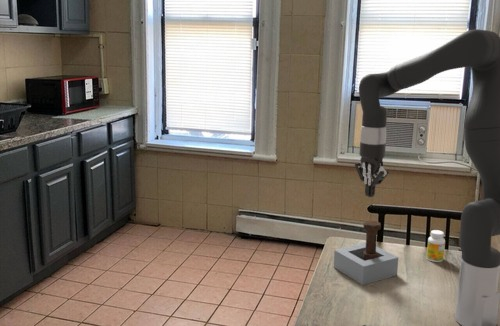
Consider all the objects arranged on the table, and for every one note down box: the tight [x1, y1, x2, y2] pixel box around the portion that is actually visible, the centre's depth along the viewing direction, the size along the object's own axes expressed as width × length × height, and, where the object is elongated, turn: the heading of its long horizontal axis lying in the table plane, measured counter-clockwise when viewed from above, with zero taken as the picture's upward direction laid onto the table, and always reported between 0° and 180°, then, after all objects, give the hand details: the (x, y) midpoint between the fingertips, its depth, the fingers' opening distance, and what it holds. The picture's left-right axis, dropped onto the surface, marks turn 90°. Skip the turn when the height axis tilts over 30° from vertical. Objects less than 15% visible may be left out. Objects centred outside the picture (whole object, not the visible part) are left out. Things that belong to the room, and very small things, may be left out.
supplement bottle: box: [426, 229, 446, 263], centre depth 176 cm, size 5×5×10 cm
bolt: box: [362, 220, 382, 261], centre depth 164 cm, size 6×5×15 cm
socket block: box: [333, 242, 399, 286], centre depth 167 cm, size 14×14×6 cm
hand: (369, 196), depth 162 cm, fingers closed
